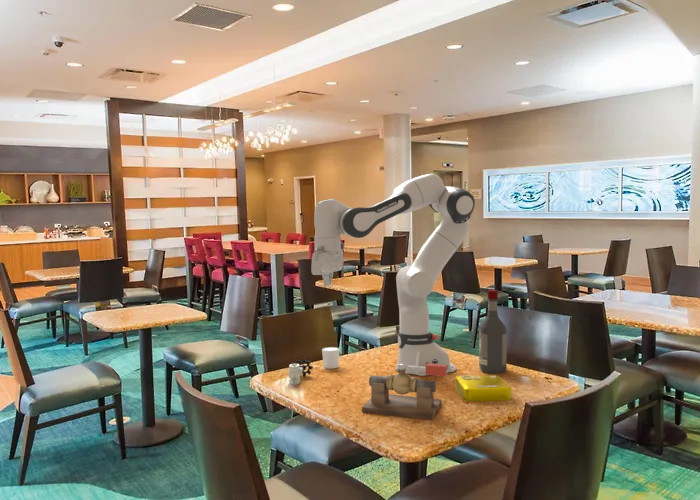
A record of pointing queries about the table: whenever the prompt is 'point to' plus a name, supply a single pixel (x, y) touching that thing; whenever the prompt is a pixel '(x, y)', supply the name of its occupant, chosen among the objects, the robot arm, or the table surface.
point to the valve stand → (402, 397)
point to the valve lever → (425, 369)
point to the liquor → (492, 339)
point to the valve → (298, 371)
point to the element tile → (482, 388)
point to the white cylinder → (330, 357)
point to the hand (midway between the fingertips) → (327, 285)
